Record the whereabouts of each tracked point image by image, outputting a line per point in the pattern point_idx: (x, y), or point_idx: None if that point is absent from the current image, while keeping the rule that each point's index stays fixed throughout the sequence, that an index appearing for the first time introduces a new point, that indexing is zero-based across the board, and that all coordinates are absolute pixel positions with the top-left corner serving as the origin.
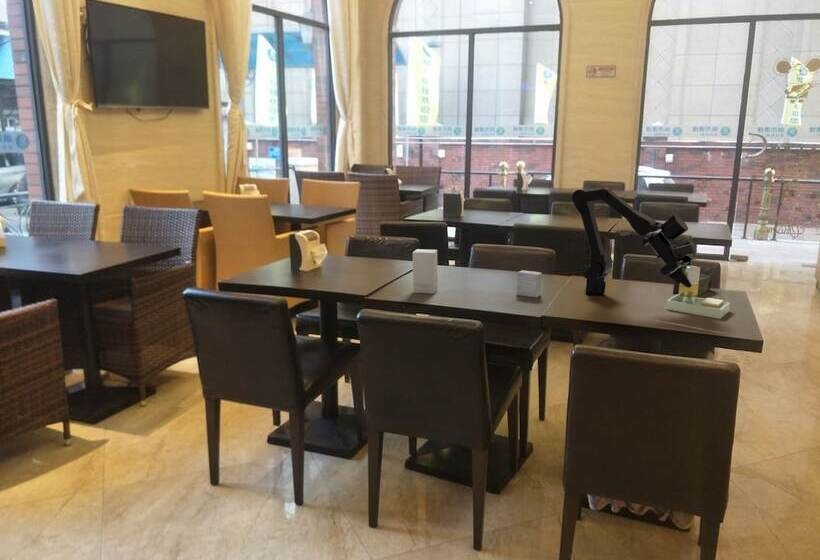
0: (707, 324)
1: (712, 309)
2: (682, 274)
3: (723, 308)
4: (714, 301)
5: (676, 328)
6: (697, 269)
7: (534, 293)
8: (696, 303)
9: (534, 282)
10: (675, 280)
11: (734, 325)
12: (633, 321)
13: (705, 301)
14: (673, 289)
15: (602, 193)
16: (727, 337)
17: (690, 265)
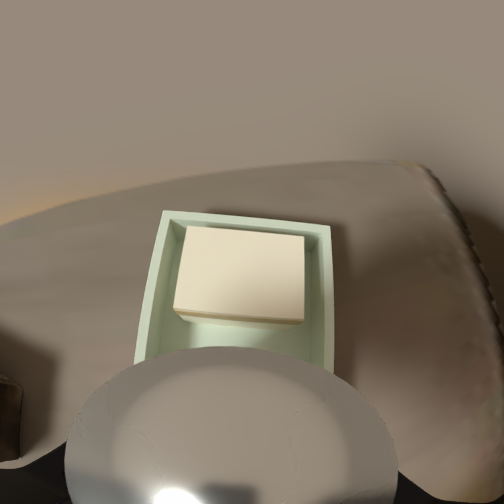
0: (400, 276)
1: (330, 264)
2: (409, 492)
3: (290, 222)
4: (247, 261)
5: (484, 340)
6: (332, 374)
7: None
8: None
9: None
10: None
11: (345, 201)
12: (485, 454)
13: (283, 303)
14: (6, 460)
15: None
16: (454, 213)
17: (31, 495)
